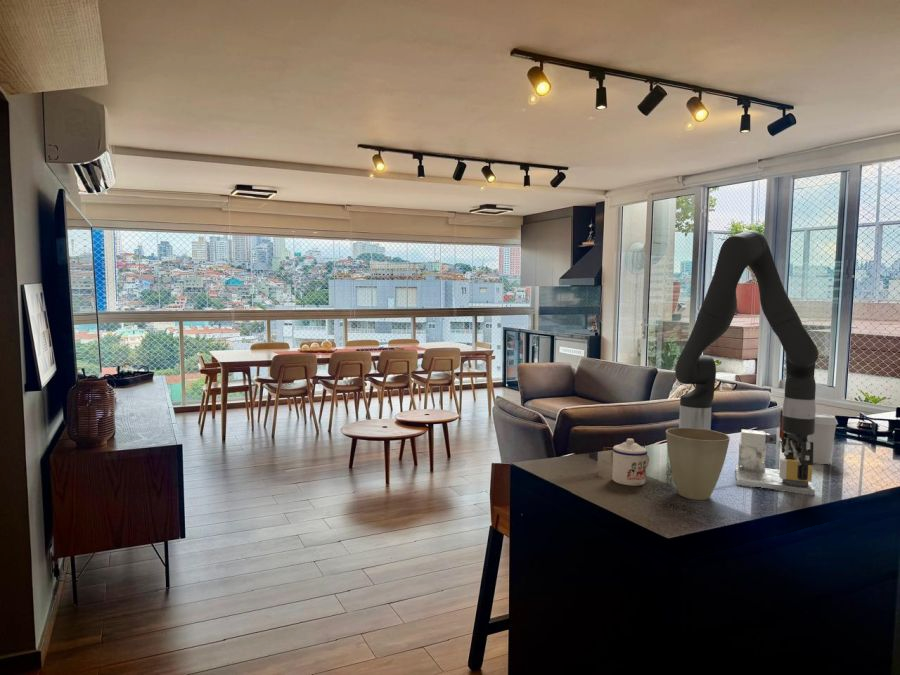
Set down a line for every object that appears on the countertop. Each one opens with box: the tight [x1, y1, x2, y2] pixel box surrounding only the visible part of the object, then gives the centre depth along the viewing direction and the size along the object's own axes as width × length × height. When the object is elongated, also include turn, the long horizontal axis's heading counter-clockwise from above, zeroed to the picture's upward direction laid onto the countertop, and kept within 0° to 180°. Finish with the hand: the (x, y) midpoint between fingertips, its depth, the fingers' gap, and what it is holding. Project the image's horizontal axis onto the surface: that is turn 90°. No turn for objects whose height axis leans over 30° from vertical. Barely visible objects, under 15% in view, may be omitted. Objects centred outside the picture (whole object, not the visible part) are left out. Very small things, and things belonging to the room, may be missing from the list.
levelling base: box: [735, 428, 816, 496], centre depth 163 cm, size 18×18×12 cm
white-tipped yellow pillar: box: [779, 457, 813, 486], centre depth 157 cm, size 7×6×6 cm
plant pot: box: [665, 427, 731, 501], centre depth 149 cm, size 15×15×16 cm
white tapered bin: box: [807, 412, 839, 465], centre depth 187 cm, size 10×10×15 cm
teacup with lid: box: [612, 438, 650, 487], centre depth 161 cm, size 12×9×12 cm
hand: (795, 475), depth 157 cm, fingers open, 8 cm apart
